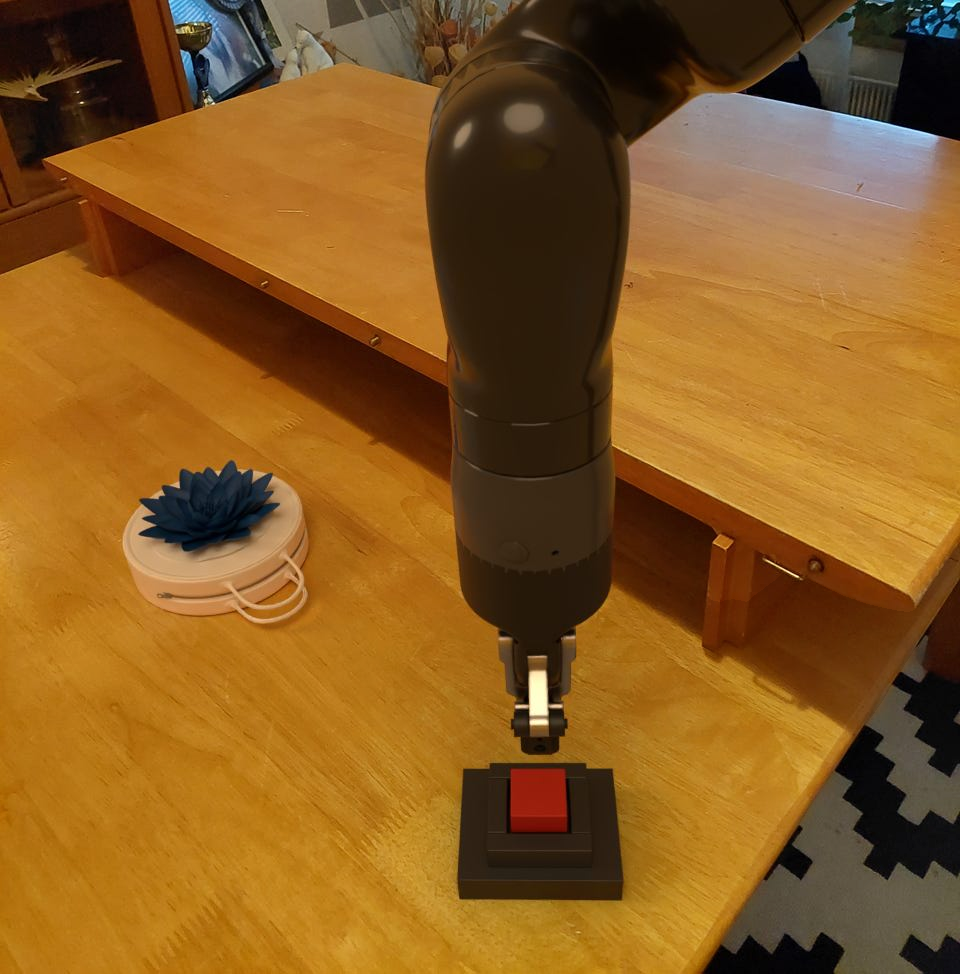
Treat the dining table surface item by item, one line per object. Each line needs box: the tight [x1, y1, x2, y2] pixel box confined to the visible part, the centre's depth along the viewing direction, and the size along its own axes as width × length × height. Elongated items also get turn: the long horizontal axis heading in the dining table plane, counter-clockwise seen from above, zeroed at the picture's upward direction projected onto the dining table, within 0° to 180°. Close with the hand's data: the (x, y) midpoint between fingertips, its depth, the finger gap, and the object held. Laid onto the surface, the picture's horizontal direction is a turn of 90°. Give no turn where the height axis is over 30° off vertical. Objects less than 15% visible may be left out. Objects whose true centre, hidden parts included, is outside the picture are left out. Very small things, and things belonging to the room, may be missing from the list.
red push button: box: [456, 762, 625, 901], centre depth 59 cm, size 10×8×4 cm
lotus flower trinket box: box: [121, 459, 310, 625], centre depth 81 cm, size 7×16×20 cm
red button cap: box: [511, 769, 567, 832], centre depth 57 cm, size 3×3×2 cm
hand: (539, 743), depth 54 cm, fingers closed
